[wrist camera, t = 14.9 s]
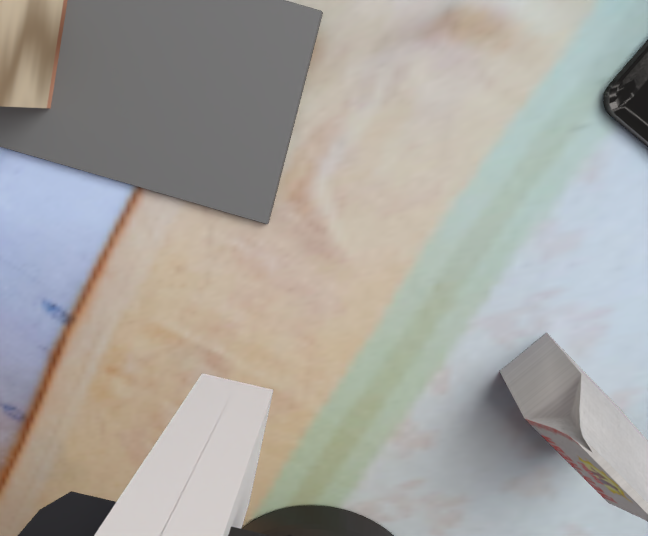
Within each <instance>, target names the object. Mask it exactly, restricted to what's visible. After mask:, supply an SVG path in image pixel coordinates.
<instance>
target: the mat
mask: <svg viewBox="0 0 648 536" xmlns="http://www.w3.org/2000/svg"><path fill="white" fill-rule="evenodd" d="M322 14H323V12H322V11H320V10H317V9H313V8H310V7H306V6H303V5H299V4H296V3H293V2H289V1H286V0H68V1H67V7H66V14H65V20H64V26H63V33H62V39H61V45H60V52H59V58H58V64H57V71H56V77H55V83H54V90H53V96H52V102H51V108H26V107H2V106H0V147H4V148H7V149H10V150H14V151H17V152H21V153H24V154H28V155H31V156H35V157H38V158H41V159H45V160H48V161H52V162H55V163H59V164H62V165H65V166H69V167H72V168H76V169H79V170H83V171H86V172H90V173H93V174H96V175H100V176H103V177H107V178H110V179H114V180H117V181H121V182H124V183H127V184H131V185H134V186H138V187H141V188H145V189H148V190H152V191H155V192H158V193H162V194H165V195H169V196H172V197H176V198H179V199H183V200H186V201H189V202H193V203H196V204H200V205H203V206H207V207H210V208H213V209H217V210H220V211H224V212H227V213H231V214H234V215H238V216H241V217H244V218H248V219H251V220H255V221H258V222H262V223H265V224H268V223H269V220H270V216H271V212H272V208H273V205H274V201H275V197H276V193H277V189H278V185H279V181H280V177H281V173H282V170H283V166H284V162H285V158H286V154H287V150H288V146H289V142H290V138H291V135H292V131H293V127H294V123H295V119H296V115H297V111H298V107H299V104H300V100H301V96H302V92H303V88H304V84H305V80H306V76H307V72H308V69H309V65H310V61H311V57H312V53H313V49H314V45H315V41H316V37H317V34H318V30H319V26H320V22H321V18H322Z"/></svg>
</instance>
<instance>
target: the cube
mask: <svg viewBox="0 0 648 536" xmlns="http://www.w3.org/2000/svg"><path fill="white" fill-rule="evenodd" d="M67 1H68V0H0V106H2V107H26V108H51V102H52V96H53V90H54V83H55V77H56V71H57V64H58V58H59V52H60V45H61V39H62V33H63V26H64V20H65V14H66V7H67Z"/></svg>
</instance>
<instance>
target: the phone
mask: <svg viewBox="0 0 648 536" xmlns="http://www.w3.org/2000/svg"><path fill="white" fill-rule="evenodd" d="M604 106H605V109H606V111H607V112H608V113H609V114H610V115H611V116H612V117H613V118H614V119H615V120H616V121H618V122H619V123H620V124H621V125H622V126H624V127H625V128H626V129H627V130H628V131H630V132H631V133H632V134H633V135H634V136H636V137H637V138H638V139H639V140H640V141H641V142H643V143H644V144H645V145H646V146H647V147H648V40H647V42H646V43H645V44H644V45H643V46H642V47H641V48H640V50H639V51H638V52H637V53H636V54H635V55H634V56H633V58H632V59H631V60H630V61H629V62H628V63H627V65H626V66H625V67H624V68H623V69H622V70H621V71H620V73H619V74H618V75H617V76H616V77H615V78H614V80H613V81H612V82H611V83H610V84H609V86H608V87H607V89H606V91H605V94H604Z"/></svg>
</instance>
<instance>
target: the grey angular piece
mask: <svg viewBox="0 0 648 536" xmlns="http://www.w3.org/2000/svg"><path fill="white" fill-rule="evenodd" d="M500 373H501V375H502V377H503V379H504V381H505V383H506V384H507V386H508V388H509V390H510V392H511V394H512V396H513V398H514V400H515V402H516V403H517V405H518V407H519V409H520V411H521V413H522V415H523V417H524V419H525V420H526V421H527V422H528V423H529V424H530V425H531V426H532V427H533V428H534V429H535V430H536V431H537V432H538V433H539V434H540V435H541V436H542V437H543V438H544V439H545V440H546V441H547V442H548V443H549V444H550V445H551V446H552V447H553V448H554V449H555V450H556V451H557V452H558V453H559V454H560V455H561V456H562V457H563V458H564V459H565V460H566V461H567V462H568V463H569V464H570V465H571V466H572V467H573V468H574V469H575V470H576V471H577V472H578V473H579V474H580V475H581V476H582V477H583V478H584V479H585V480H586V481H587V482H588V483H589V484H590V485H591V486H592V487H593V488H594V489H595V490H596V491H597V492H598V493H599V494H600V495H601V496H602V497H603V498H604V499H605V500H606V501H607V502H608V503H610V504H612V505H614V506H616V507H619V508H621V509H623V510H625V511H627V512H629V513H631V514H634V515H636V516H638V517H640V518H642V519H644V520H646V521H648V440H647V439H646V438H645V437H644V436H643V435H642V433H641V432H640V431H639V430H638V429H637V428H636V427H635V425H634V424H633V423H632V422H631V421H630V420H629V419H628V417H627V416H626V415H625V414H624V413H623V412H622V411H621V409H620V408H619V407H618V406H617V405H616V404H615V403H614V402H613V401H612V400H611V399H610V398H609V397H608V396H607V395H606V394H605V393H604V392H603V391H602V390H601V388H600V387H599V386H598V385H597V384H596V383H595V382H594V381H593V380H592V379H591V378H590V377H589V376H588V375H587V374H586V373H585V372H584V371H583V370H582V369H581V368H580V367H579V366H578V365H577V364H576V363H575V361H574V360H573V359H572V358H571V357H570V356H569V355H568V354H567V353H566V352H565V351H564V350H563V349H562V348H561V347H560V346H559V345H558V344H557V343H556V342H555V341H554V340H553V339H552V338H551V337H550V336H549V334H548V333H545V334H544V335H543V336H542V337H541V338H539V339H538V340H537V341H536V342H534V343H533V344H532V345H531V346H530V347H528V348H527V349H526V350H525V351H523V352H522V353H521V354H520V355H519V356H517V357H516V358H515V359H514V360H512V361H511V362H510V363H509V364H508V365H506V366H505V367H504V368H503V369H501V370H500Z"/></svg>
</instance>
